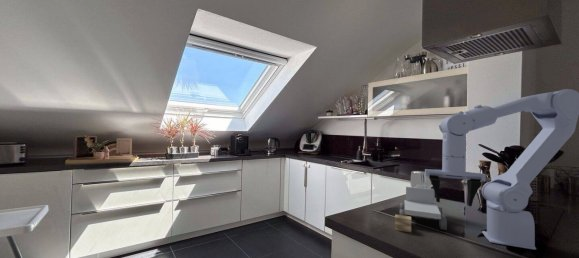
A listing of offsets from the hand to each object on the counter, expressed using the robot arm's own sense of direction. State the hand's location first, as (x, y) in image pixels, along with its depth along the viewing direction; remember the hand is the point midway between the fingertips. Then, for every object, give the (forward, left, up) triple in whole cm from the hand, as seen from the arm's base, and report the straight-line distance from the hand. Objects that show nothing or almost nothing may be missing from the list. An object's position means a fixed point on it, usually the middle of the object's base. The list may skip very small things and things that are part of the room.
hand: (453, 203), depth 71 cm
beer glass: (+7, -22, -10) cm, 25 cm away
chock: (+13, 0, -10) cm, 16 cm away
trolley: (+8, -9, -9) cm, 15 cm away
